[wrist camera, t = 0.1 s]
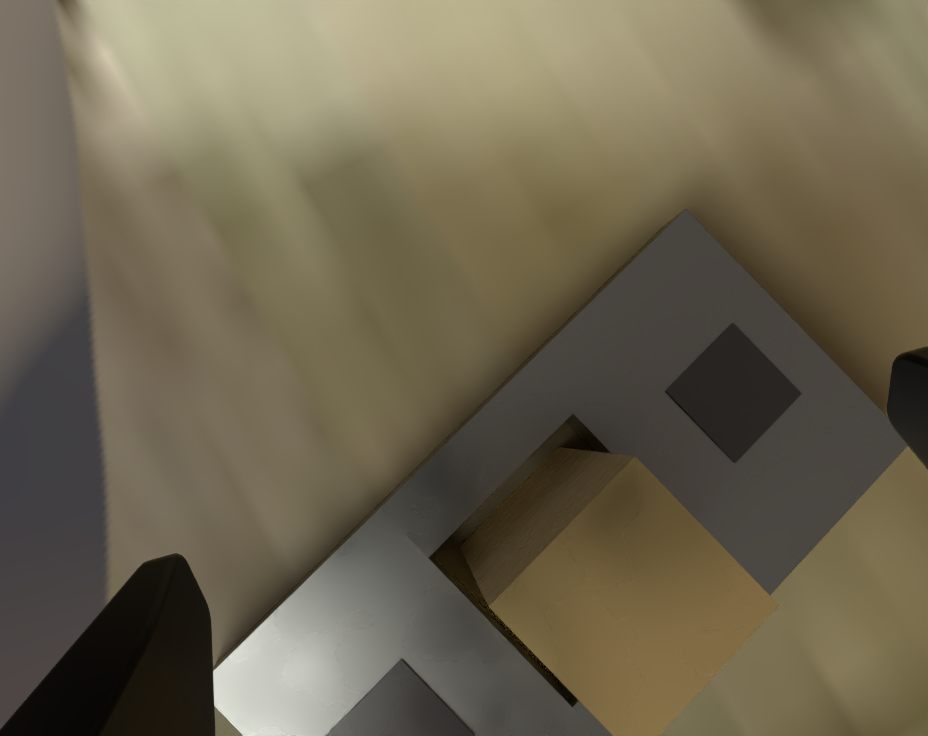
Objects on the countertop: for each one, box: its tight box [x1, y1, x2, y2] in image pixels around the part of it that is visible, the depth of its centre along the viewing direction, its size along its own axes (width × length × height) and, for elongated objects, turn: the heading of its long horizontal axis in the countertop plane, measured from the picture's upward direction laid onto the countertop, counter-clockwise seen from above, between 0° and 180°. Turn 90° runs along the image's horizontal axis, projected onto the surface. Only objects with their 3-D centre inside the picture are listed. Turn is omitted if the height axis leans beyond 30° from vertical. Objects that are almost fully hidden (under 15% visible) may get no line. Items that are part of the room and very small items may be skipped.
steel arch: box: [213, 209, 908, 736], centre depth 23 cm, size 10×20×2 cm, turn 134°
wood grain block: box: [460, 447, 779, 736], centre depth 20 cm, size 4×4×8 cm
